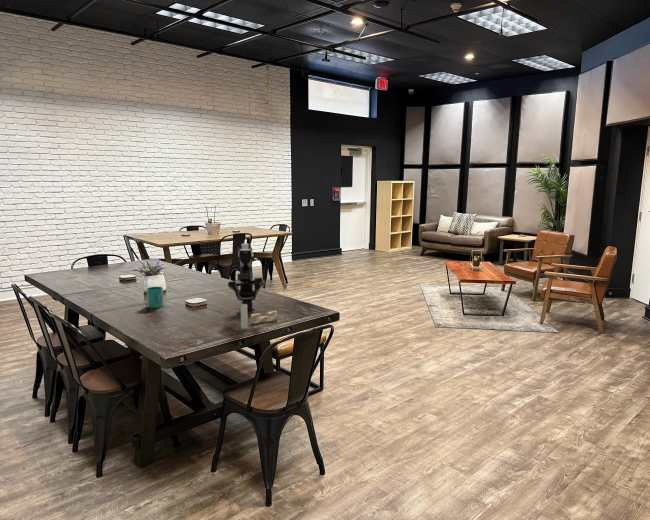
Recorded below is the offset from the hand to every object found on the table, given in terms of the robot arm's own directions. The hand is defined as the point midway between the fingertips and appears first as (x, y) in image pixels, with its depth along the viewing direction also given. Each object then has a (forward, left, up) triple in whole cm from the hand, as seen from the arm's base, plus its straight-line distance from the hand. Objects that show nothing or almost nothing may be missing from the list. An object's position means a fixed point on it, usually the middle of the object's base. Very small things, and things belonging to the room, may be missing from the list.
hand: (246, 298), depth 254 cm
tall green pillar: (+8, -7, -12) cm, 16 cm away
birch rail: (+7, +6, -12) cm, 15 cm away
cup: (-61, -24, -12) cm, 67 cm away
